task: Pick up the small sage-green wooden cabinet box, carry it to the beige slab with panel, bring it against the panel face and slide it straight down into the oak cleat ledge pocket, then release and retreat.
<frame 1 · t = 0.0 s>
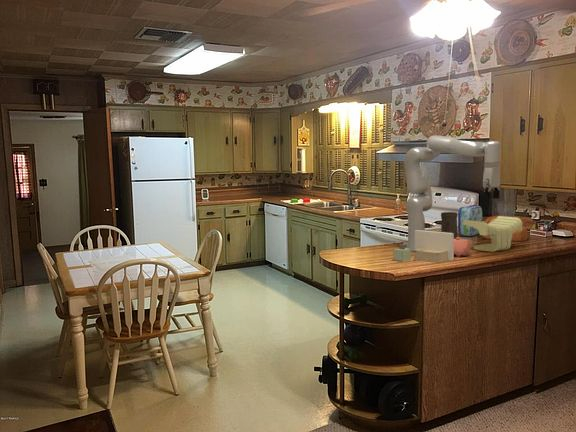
hand: (491, 198, 249), 31 cm above the countertop, fingers open, 9 cm apart
bread: (504, 239, 315), on the countertop
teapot: (458, 256, 263), on the countertop
beer stein: (449, 243, 307), on the countertop
cabinet box: (402, 260, 255), on the countertop
beige slab with panel: (433, 257, 259), on the countertop
lunch box: (470, 235, 337), on the countertop
slatted curved stool: (492, 249, 278), on the countertop
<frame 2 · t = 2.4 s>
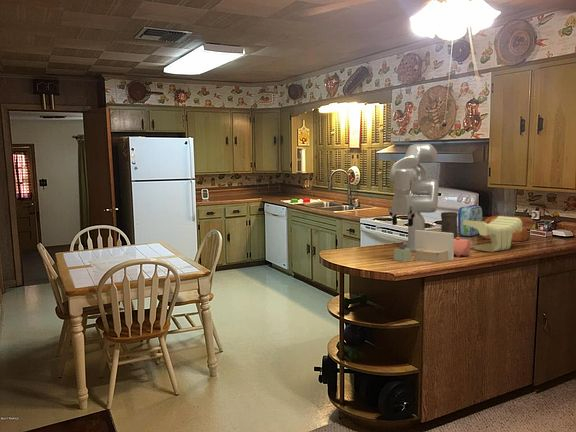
hand: (402, 225, 253), 18 cm above the countertop, fingers open, 9 cm apart
nothing on the countertop moved.
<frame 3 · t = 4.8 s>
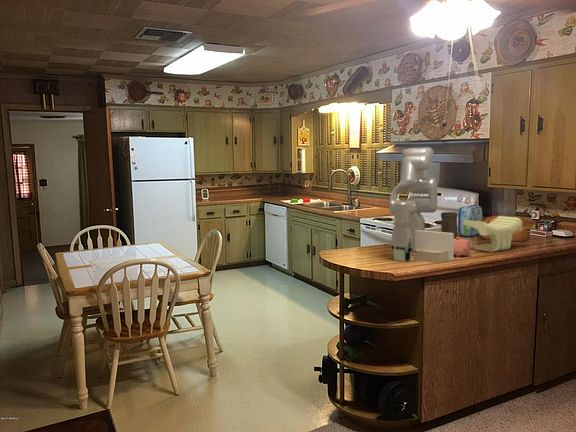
hand: (402, 258, 255), 1 cm above the countertop, fingers closed on cabinet box, 6 cm apart
cabinet box: (402, 260, 255), on the countertop, touching gripper
everything else where it was.
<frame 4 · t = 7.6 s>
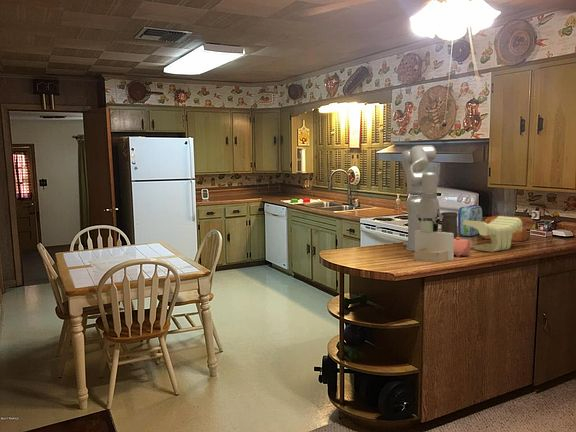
hand: (429, 230, 251), 16 cm above the countertop, fingers closed on cabinet box, 6 cm apart
cabinet box: (429, 232, 251), point 15 cm above the countertop, touching gripper
everything else where it was.
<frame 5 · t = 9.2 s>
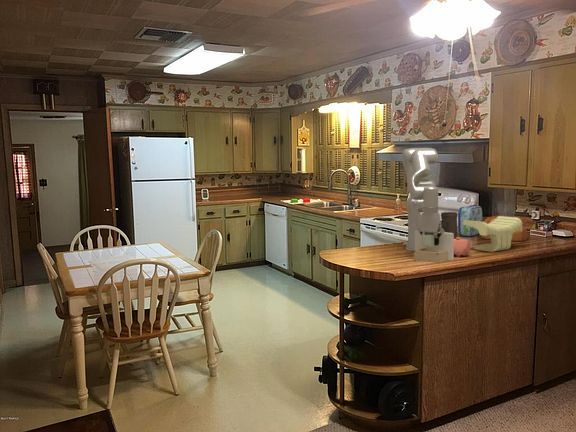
hand: (430, 244, 253), 8 cm above the countertop, fingers closed on cabinet box, 6 cm apart
cabinet box: (430, 245, 253), point 8 cm above the countertop, touching gripper
everything else where it was.
when the fingers open (6 cm above the countertop, at t = 10.5 s): cabinet box drops 1 cm, resting on beige slab with panel.
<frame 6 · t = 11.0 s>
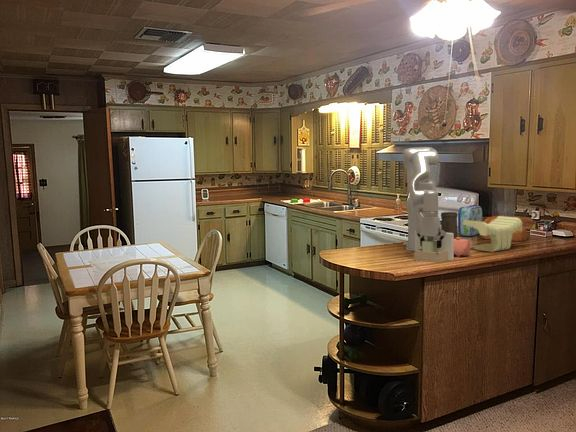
hand: (430, 247, 253), 7 cm above the countertop, fingers open, 9 cm apart
cabinet box: (430, 252, 253), point 4 cm above the countertop, touching beige slab with panel
everything else where it was.
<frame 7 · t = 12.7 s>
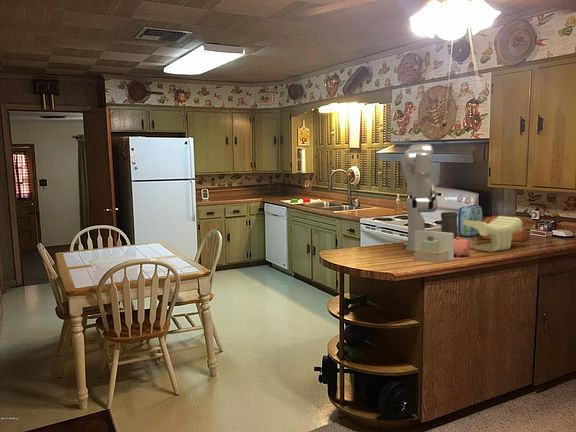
hand: (422, 208, 257), 27 cm above the countertop, fingers open, 9 cm apart
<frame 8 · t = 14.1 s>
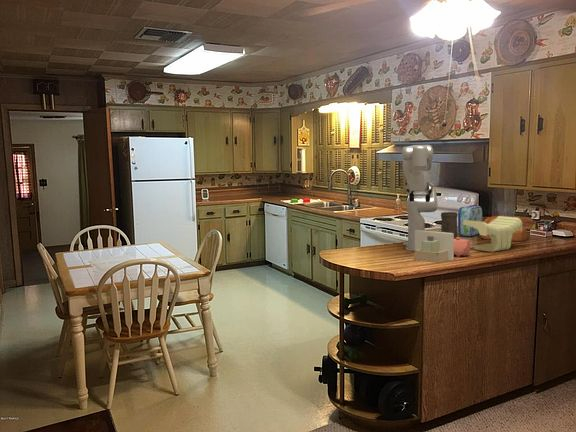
hand: (419, 201, 258), 30 cm above the countertop, fingers open, 9 cm apart
at the end: cabinet box inside the target area on the beige slab with panel (0.5 cm from its centre), point 4.0 cm above the beige slab with panel's base; cabinet box tilted 0°; the gripper is holding nothing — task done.
